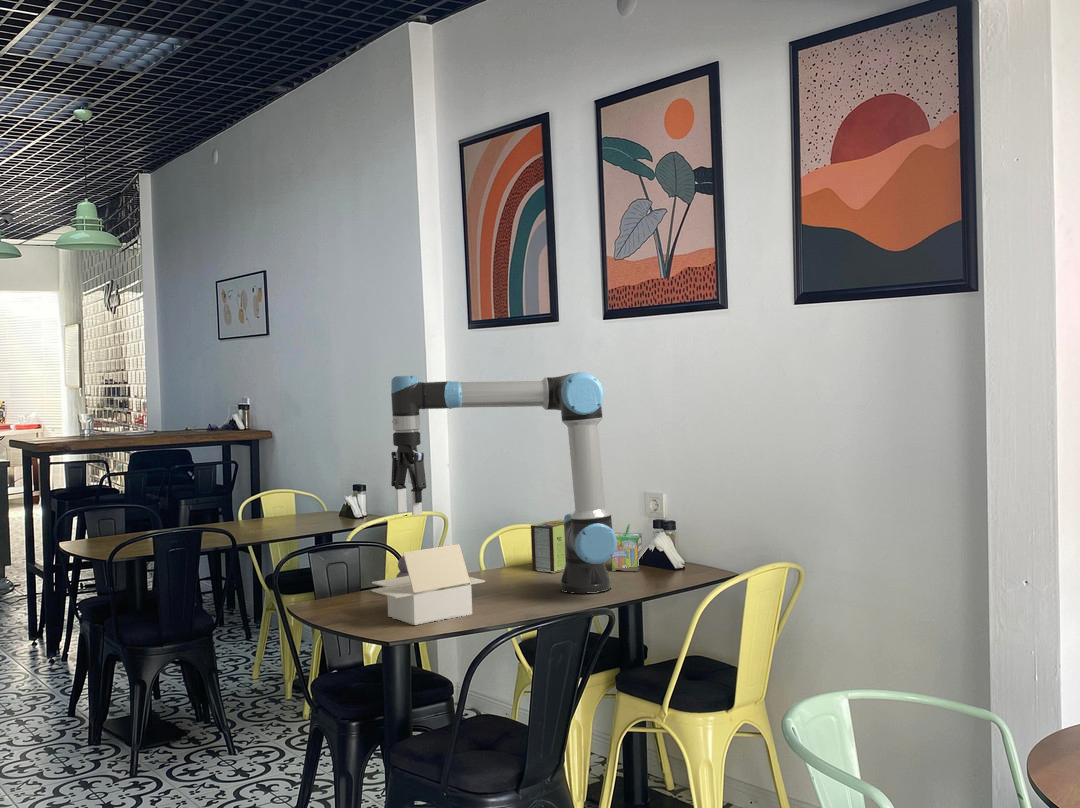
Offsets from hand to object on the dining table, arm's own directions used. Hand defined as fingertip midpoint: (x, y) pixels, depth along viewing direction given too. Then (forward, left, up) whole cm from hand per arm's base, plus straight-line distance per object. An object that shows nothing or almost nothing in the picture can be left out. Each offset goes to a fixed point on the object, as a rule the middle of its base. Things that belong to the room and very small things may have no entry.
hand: (409, 513), depth 268 cm
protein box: (-18, -67, -27) cm, 75 cm away
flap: (-11, +7, -14) cm, 19 cm away
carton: (-4, +2, -27) cm, 28 cm away
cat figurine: (+12, -20, -27) cm, 36 cm away
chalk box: (-41, -71, -27) cm, 86 cm away
